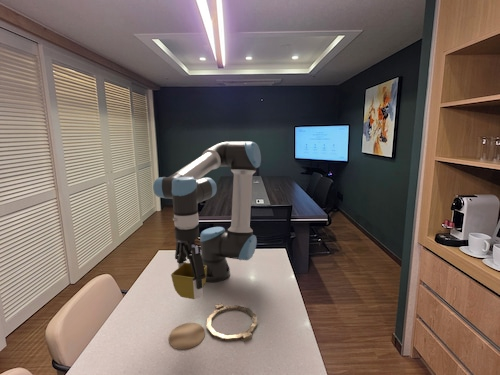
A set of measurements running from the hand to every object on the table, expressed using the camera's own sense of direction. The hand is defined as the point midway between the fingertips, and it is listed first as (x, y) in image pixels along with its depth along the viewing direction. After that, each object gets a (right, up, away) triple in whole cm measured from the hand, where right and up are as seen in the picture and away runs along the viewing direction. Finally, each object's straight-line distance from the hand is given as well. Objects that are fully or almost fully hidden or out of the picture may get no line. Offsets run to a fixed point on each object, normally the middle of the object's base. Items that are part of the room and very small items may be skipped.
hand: (190, 288), depth 94 cm
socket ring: (+13, -16, +9) cm, 22 cm away
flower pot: (0, -2, +1) cm, 3 cm away
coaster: (-2, -17, +3) cm, 18 cm away
